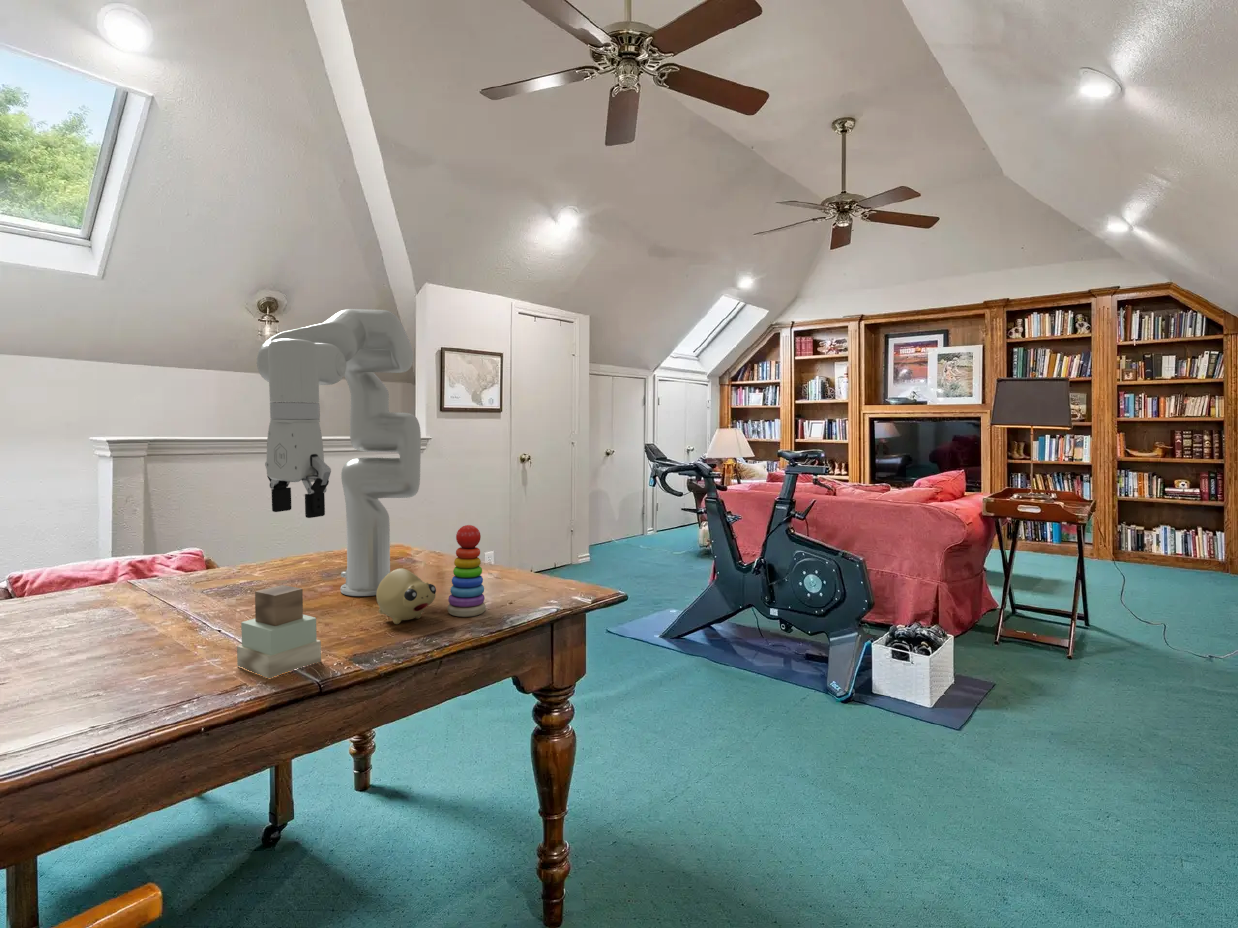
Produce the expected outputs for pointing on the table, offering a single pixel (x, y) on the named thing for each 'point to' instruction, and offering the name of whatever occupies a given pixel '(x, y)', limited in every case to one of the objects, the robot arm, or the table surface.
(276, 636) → the top block
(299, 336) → the robot arm
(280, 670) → the base block
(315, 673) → the table surface
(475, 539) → the stacking toy
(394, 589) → the toy frog
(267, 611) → the walnut cube
